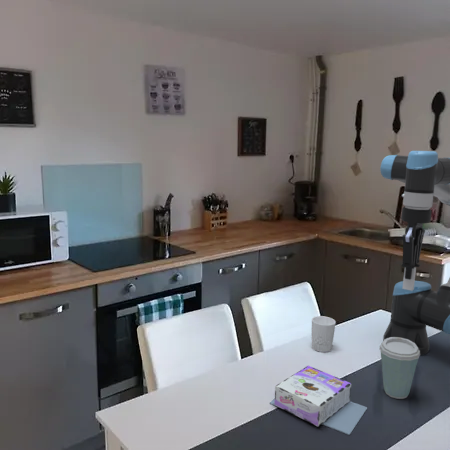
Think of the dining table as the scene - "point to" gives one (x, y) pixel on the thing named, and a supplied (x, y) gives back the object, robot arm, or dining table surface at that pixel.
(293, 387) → the candy box
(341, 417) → the mat
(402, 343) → the disposable coffee cup
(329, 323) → the white cup
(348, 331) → the dining table surface
